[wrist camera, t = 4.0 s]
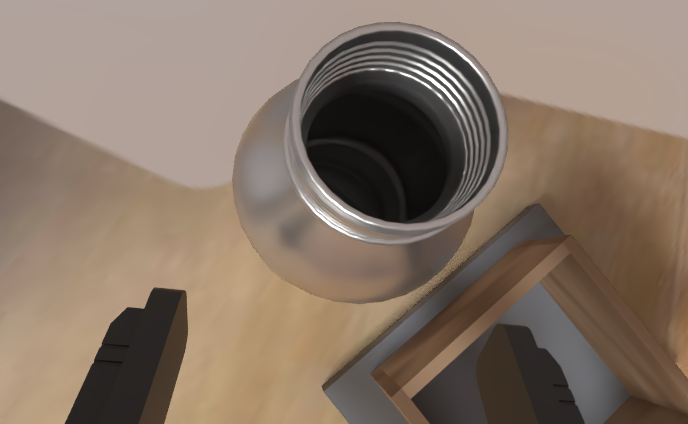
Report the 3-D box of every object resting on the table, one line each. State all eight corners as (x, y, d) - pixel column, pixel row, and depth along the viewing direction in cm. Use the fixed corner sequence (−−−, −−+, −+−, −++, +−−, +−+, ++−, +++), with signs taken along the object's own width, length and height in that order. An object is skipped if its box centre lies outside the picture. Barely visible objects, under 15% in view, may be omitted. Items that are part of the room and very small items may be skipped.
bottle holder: (472, 575, 26) (530, 666, 20) (321, 386, 27) (334, 419, 21) (666, 376, 29) (767, 403, 23) (528, 206, 30) (593, 188, 23)
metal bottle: (281, 155, 28) (287, -126, 8) (389, 201, 28) (637, 41, 9) (234, 260, 27) (114, 224, 7) (347, 306, 27) (523, 391, 8)
